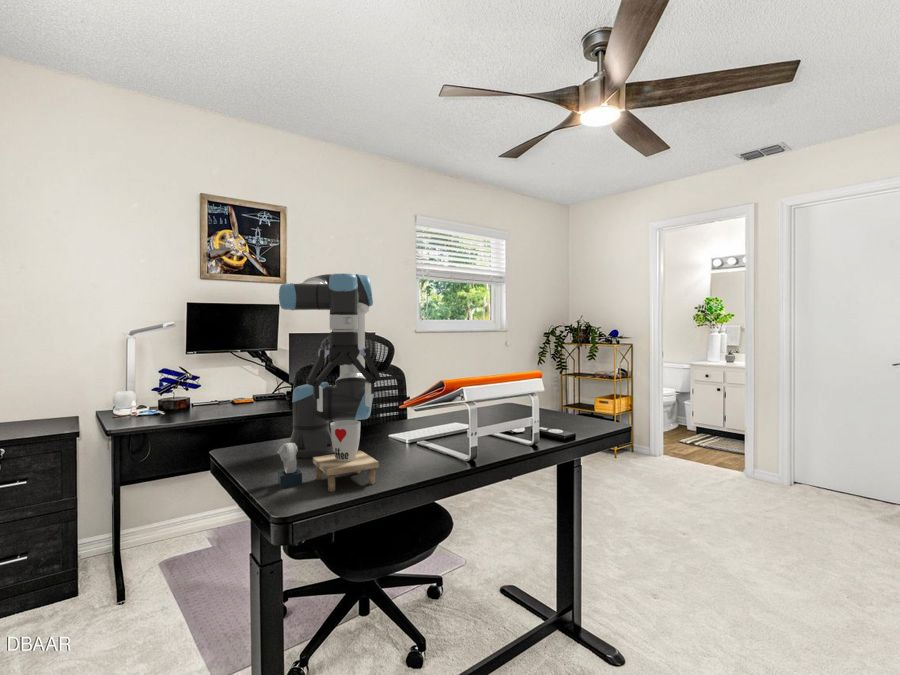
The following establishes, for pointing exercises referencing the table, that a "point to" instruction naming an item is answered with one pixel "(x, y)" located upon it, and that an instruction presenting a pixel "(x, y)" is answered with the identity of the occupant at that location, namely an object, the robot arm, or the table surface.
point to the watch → (289, 466)
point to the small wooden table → (344, 467)
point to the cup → (345, 439)
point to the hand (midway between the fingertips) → (344, 408)
